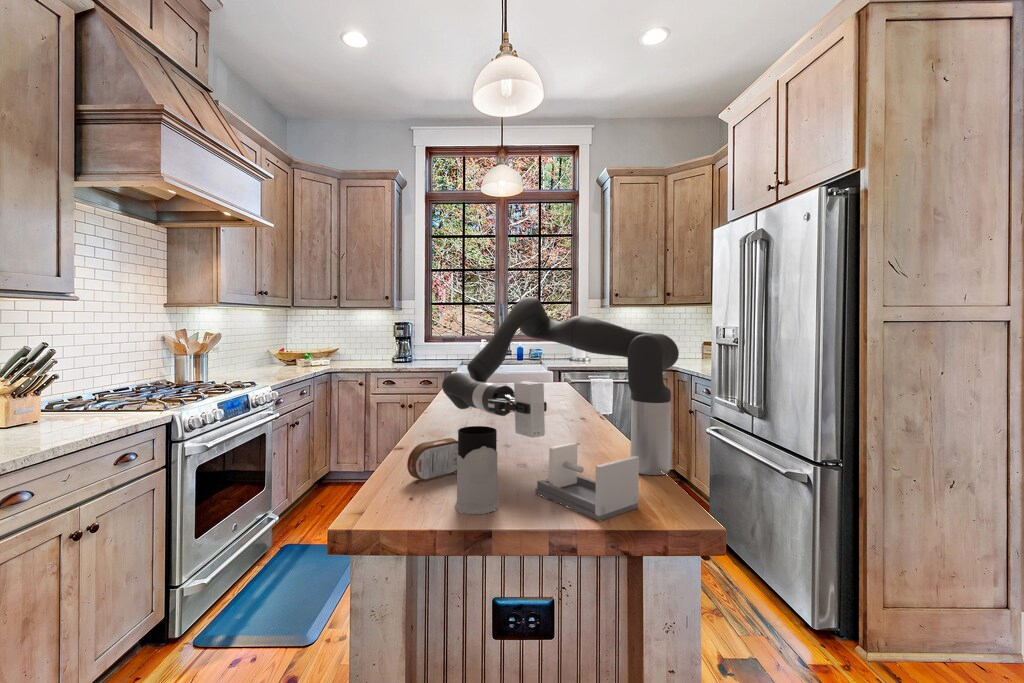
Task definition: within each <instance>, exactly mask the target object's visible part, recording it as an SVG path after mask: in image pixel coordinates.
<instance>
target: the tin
mask: <svg viewBox="0 0 1024 683" xmlns="http://www.w3.org/2000/svg"><path fill="white" fill-rule="evenodd" d="M457 455H458V440H456V439H455V438H453V437H448V438H443V439H437V440H431V441H426V442H425V441H424V442H421V443H419V444H417V445H416V446H414V447H413V449H412V450H411V452H410V453H409V455H408V458H407V461H406V462H407V464H406V465H407V466H406V467H407V471H408V474H409V475H410V476H411V477H412V478H414V479H417V480H419V481H423V482H428V481H431V480H436V479H440V478H443V476H444V477H446V476H447V475H448V476H451V475H455V474H457ZM439 477H440V478H439Z"/></svg>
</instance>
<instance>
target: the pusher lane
mask: <svg viewBox="0 0 1024 683" xmlns="http://www.w3.org/2000/svg"><path fill="white" fill-rule="evenodd" d="M639 474H640V473H639V457H637V456H633V457H630V456H629V457H626V458H621V459H617V460H613V461H609V462H605V463H601V464H597V465H595V480H593V479H590V478H588V477H585V476H582V475H579V474H577V483H575V484H572V485H568V486H564V487H561V488H559V487H556V486H554V485H551V484H549V477H548V478H544V479H541V480H537V481H536V482H537V483H536V488H535V490H534V491H535V493H537V494H536V495H538V494H539V495H538V496H540V495H542V496H544V497H543V498H545V497H546V498H545V499H547V498H548V499H547V500H549V499H551V500H553V501H552V502H554V501H556V502H558V503H561V504H563V505H565V506H568V507H570V508H572V509H574V510H576V511H578V512H577V513H579V512H581V513H583V514H585V515H584V516H586V515H587V516H586V517H588V516H590V517H592V518H594V519H593V520H595V519H597V520H599V521H598V522H601V521H600V520H602V521H604V520H603V519H605V520H607V519H606V518H608V519H610V518H609V517H611V518H613V517H615V516H619V515H623V514H624V513H627V512H630V511H634V510H637V509H638V508H639V481H640V480H639V479H640V478H639V477H640V476H639ZM542 496H541V497H542ZM551 500H550V501H551ZM556 502H555V503H556ZM558 503H557V504H558ZM561 504H560V505H561ZM563 505H562V506H563ZM565 506H564V507H565ZM570 508H569V509H570ZM572 509H571V510H572ZM574 510H573V511H574ZM576 511H575V512H576ZM581 513H580V514H581ZM583 514H582V515H583ZM618 514H619V515H618ZM612 516H613V517H612ZM590 517H589V518H590ZM592 518H591V519H592ZM597 520H596V521H597Z"/></svg>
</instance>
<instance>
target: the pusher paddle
mask: <svg viewBox="0 0 1024 683" xmlns="http://www.w3.org/2000/svg"><path fill="white" fill-rule="evenodd" d="M548 451H549V452H548V459H549V460H548V478H549V484H551V485H554V486H556V487H559V488H561V487H564V486H568V485H572V484H575V483H577V475H578V473H582V474H583V472H584V470H585V468H584V467H583V466H581V465H578V443H576V442H570V443H565V444H560V445H555V446H550V447H549V449H548Z"/></svg>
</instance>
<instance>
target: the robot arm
mask: <svg viewBox="0 0 1024 683" xmlns="http://www.w3.org/2000/svg"><path fill="white" fill-rule="evenodd" d="M519 329H520V331H521V333H522V334H523V335H525V336H527V337H528V338H533V339H538V340H543V341H548V342H553V343H556V344H557V343H558V344H561V345H565V346H568V347H571V348H574V349H577V350H580V351H583V352H587V353H590V354H596V355H604V356H616V357H623V358H626V359H627V382H628V383H627V384H628V388H629V390H630V394H631V397H630V398H631V399H630V400H631V404H630V406H631V408H630V409H631V410H630V451H629V452H630V454H629V455H630V456H629V457H633V456H637V457H639V474H641V475H648V476H663V475H667V474H669V472H670V470H672V458H673V457H672V456H673V455H672V452H673V451H672V450H673V445H672V444H673V431H672V430H671V412H672V411H671V410H672V408H671V404H672V403H671V402H672V401H671V400H672V392H671V389H670V388H669V387H667V386H666V385H665V383H664V374H663V373H664V371H666V370H668V369H670V368H672V367H673V366H674V365H675V364H676V363H677V362H678V360H679V355H680V354H679V353H680V352H679V348H678V346H677V343H676V342H675V341H674V340H673V339H672V338H671V337H669V336H668V335H665V334H662V333H652V332H646V331H645V332H644V331H638V330H633V329H629V328H626V327H623V326H620V325H617V324H613V323H611V322H607V321H604V320H600V319H597V318H595V317H590V316H585V315H574V316H572V317H570V318H567V319H566V320H564V321H559V320H555V319H554V318H550V317H549V315H548V314H547V312H546V309H545V307H544V306H543V304H542V303H541V300H539V298H538V297H535V296H528V297H524V298H522V299H520V300H519V301H518V302H516V304H515V305H514V306H513V307H512V309H511V310H510V311H509V313H508V315H506V317H505V318H504V320H503V322H501V325H500V326H499V327H498V329H497V330H496V332H495V333H494V335H493V336H492V337H491V339H489V341H488V342H487V343H486V345H485V346H484V347H483V348H482V349H481V350H480V351H479V352H478V353H477V354H476V355H475V356H474V357H473V358H472V359H471V361H470V362H469V363H468V364H467V367H466V369H467V371H468V374H469V375H470V376H469V375H467V374H465V373H462V372H453V373H450V374H448V375H447V376H445V377H444V379H443V381H442V384H441V388H442V391H443V393H444V394H445V396H447V397H448V399H449V400H450V401H451V402H452V403H453V405H454V406H455V407H456V408H458V409H459V410H466V409H468V408H470V407H471V408H473V409H476V410H477V409H478V410H480V411H482V412H486V413H488V414H493V415H496V416H501V417H504V416H507V415H509V414H511V413H514V414H515V413H516V412H520V413H524V414H530V404H526V403H522V402H518V401H515V396H514V389H513V388H512V387H510V385H505V384H499V383H494V382H487V381H488V380H489V378H491V377H492V375H493V374H494V373H495V372H496V371H497V370H498V369H499V368H500V367H501V365H502V364H503V363H504V360H505V359H506V357H507V354H508V351H509V348H510V345H511V342H512V340H513V338H514V337H515V334H516V333H517V331H518V330H519ZM547 409H548V405H547V401H544V413H545V412H547ZM661 471H662V472H663V473H665V474H663V473H662V472H661Z"/></svg>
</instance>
